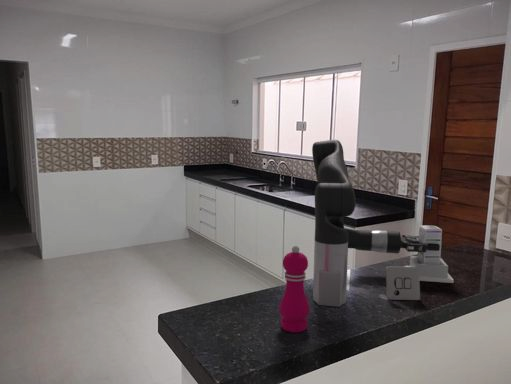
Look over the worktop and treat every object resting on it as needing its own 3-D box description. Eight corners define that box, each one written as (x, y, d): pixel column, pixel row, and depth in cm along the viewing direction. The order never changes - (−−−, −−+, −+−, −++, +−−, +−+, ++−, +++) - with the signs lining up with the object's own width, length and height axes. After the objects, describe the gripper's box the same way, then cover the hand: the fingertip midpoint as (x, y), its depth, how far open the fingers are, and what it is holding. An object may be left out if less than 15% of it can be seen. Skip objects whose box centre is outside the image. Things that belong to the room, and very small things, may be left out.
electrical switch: (387, 300, 118) (387, 267, 118) (382, 295, 123) (382, 264, 123) (420, 301, 118) (421, 268, 117) (414, 296, 123) (415, 265, 123)
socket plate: (453, 283, 133) (454, 267, 132) (410, 280, 136) (411, 265, 135) (443, 270, 146) (444, 256, 145) (404, 268, 148) (405, 254, 148)
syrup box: (440, 271, 137) (443, 228, 136) (422, 271, 138) (425, 228, 136) (433, 266, 143) (436, 225, 141) (415, 266, 143) (418, 224, 141)
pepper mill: (272, 326, 101) (274, 245, 98) (292, 317, 106) (293, 240, 103) (295, 336, 96) (297, 251, 93) (315, 326, 101) (317, 246, 98)
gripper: (387, 235, 135) (443, 238, 131) (383, 226, 149) (433, 229, 145) (386, 258, 136) (441, 261, 132) (382, 247, 150) (431, 250, 146)
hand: (436, 244), depth 139 cm, fingers closed on syrup box, 6 cm apart
